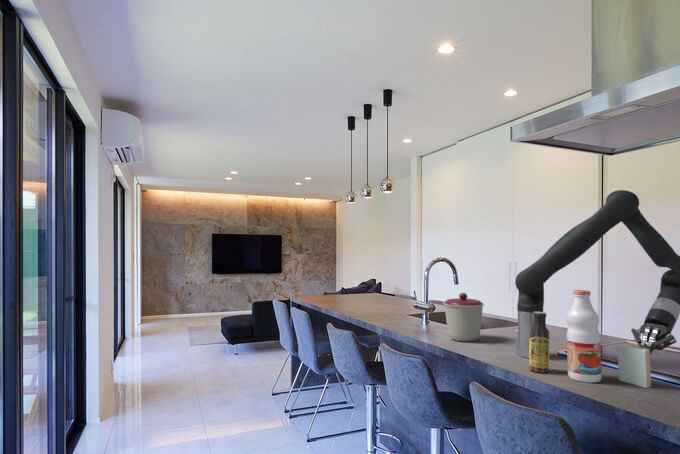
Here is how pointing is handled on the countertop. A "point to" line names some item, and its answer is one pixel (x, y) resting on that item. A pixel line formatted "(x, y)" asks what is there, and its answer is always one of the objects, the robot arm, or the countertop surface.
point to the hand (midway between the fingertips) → (642, 357)
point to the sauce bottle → (539, 344)
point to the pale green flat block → (634, 365)
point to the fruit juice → (583, 340)
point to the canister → (463, 318)
